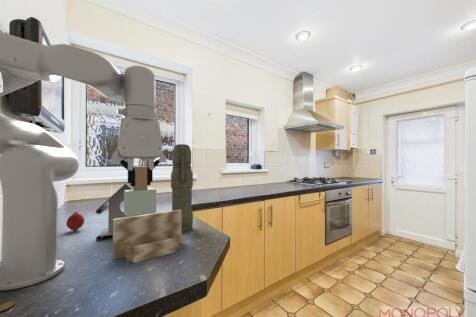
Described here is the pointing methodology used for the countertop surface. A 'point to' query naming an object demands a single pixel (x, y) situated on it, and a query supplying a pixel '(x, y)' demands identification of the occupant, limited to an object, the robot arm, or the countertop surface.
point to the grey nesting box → (113, 210)
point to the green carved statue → (182, 184)
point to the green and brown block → (140, 195)
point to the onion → (75, 221)
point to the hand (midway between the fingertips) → (140, 184)
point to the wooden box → (147, 235)
